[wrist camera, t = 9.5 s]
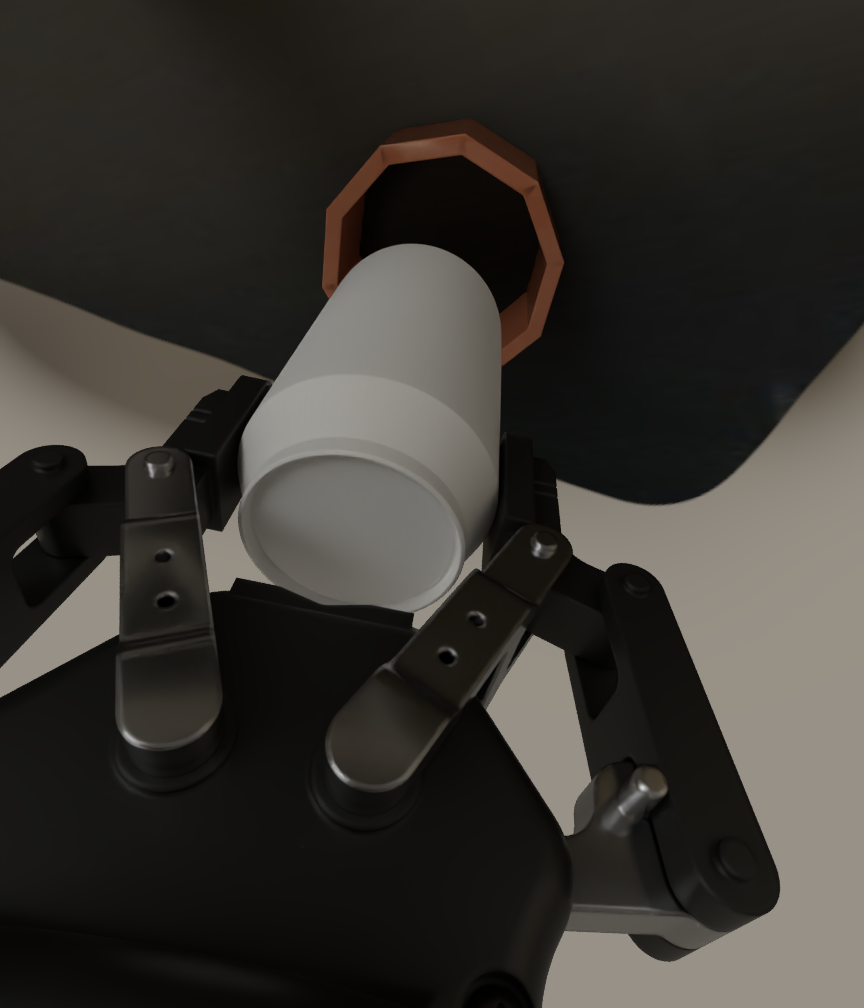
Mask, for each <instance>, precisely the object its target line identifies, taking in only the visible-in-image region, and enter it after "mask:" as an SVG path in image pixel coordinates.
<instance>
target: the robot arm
mask: <svg viewBox="0 0 864 1008" xmlns="http://www.w3.org/2000/svg"><path fill="white" fill-rule="evenodd" d="M271 387H272V384H271V382H270V381H267V380H262V379H258V378H253V377H248V376H244V375H242V376H240V378H239V379H238V380H237V381H236V382H235V384H234V385H233V386H232V388H231V389H230V390H229V391H225V390H220V389H218V390H217V391H214V392H213V393H211V394H209V395H207V396H205V397H203V398H202V399H201V400H200V402H199V403H198V404H197V405H196V406H195V408H194V411H191V412H190V414H189V415H188V416H187V418H186V419H185V420H184V421H183V422H182V423H181V424H180V426H179V427H178V428H177V429H176V430H175V432H174V433H173V434H172V435H171V436H170V438H169V439H168V440H167V441H166V443H165V444H164V445H163V446H158V447H151V448H146V449H143V450H141V451H139V452H136V453H135V454H133V455H132V456H131V457H130V458H129V459H128V460H127V462H126V465H121V466H88V465H87V461H86V458H85V456H84V454H83V453H82V452H81V451H79V450H78V449H76V448H73V447H70V446H64V445H48V446H42V447H37V448H34V449H31V450H29V451H26V452H24V453H23V454H21V455H20V456H18V457H17V458H15V459H14V460H12V461H11V462H10V463H8V464H7V465H5V466H4V467H3V468H1V469H0V668H1V667H2V666H3V664H4V663H6V661H7V660H8V659H9V658H10V657H11V656H12V655H13V654H14V653H15V652H16V651H17V650H18V649H19V648H20V647H21V646H22V645H23V644H24V643H25V641H27V640H28V639H29V637H30V636H31V635H32V634H33V633H34V632H35V631H36V630H37V629H38V628H39V627H40V626H41V625H42V624H43V623H44V622H45V621H46V620H47V619H48V618H49V617H50V615H51V614H52V613H53V612H54V611H55V610H56V609H57V608H58V607H59V606H60V605H61V604H62V603H63V602H64V601H65V600H66V599H67V598H68V597H69V596H70V595H71V594H72V592H73V591H74V590H75V589H76V588H77V587H78V586H79V585H80V584H81V583H82V582H83V581H84V580H85V579H86V578H87V577H88V576H89V575H90V573H92V572H93V570H94V569H95V568H96V567H97V566H98V565H99V564H100V563H101V562H102V561H103V560H104V559H105V557H106V556H112V555H114V556H115V555H120V628H119V635H117V636H115V637H113V638H111V639H109V640H107V641H105V642H104V643H102V644H100V645H98V646H96V647H95V648H92V649H91V650H89V651H87V652H85V653H83V654H81V655H79V656H77V657H76V658H74V659H72V660H70V661H68V662H66V663H65V664H62V665H61V666H59V667H57V668H55V669H53V670H51V671H49V672H47V673H46V674H44V675H42V676H40V677H38V678H36V679H34V680H33V681H31V682H29V683H27V684H25V685H23V686H21V687H19V688H17V689H16V690H14V691H12V692H10V693H8V694H6V695H4V696H3V697H1V698H0V1008H542V1001H543V994H544V989H545V984H546V979H547V975H548V972H549V968H550V965H551V962H552V959H553V956H554V953H555V951H556V948H557V946H558V944H559V942H560V939H561V937H562V935H563V933H564V931H577V932H601V933H623V934H628V935H629V936H630V937H631V939H632V940H633V942H634V943H635V944H636V945H637V946H638V947H639V948H640V949H641V950H642V951H643V952H645V953H646V954H648V955H649V956H651V957H653V958H655V959H657V960H661V961H668V962H671V961H676V960H678V959H680V958H682V957H684V956H686V955H688V954H690V953H692V952H693V951H695V950H697V949H699V948H701V947H703V946H705V945H707V944H709V943H711V942H713V941H715V940H716V939H718V938H720V937H722V936H724V935H726V934H728V933H730V932H732V931H734V930H736V929H737V928H739V927H741V926H743V925H745V924H747V923H749V922H751V921H753V920H755V919H757V918H759V917H761V916H762V915H764V914H766V913H768V912H770V911H771V910H772V909H773V908H774V907H775V905H776V903H777V901H778V898H779V893H780V881H779V876H778V872H777V868H776V865H775V863H774V860H773V858H772V855H771V853H770V850H769V848H768V846H767V843H766V841H765V838H764V836H763V833H762V831H761V828H760V826H759V823H758V821H757V818H756V816H755V814H754V811H753V808H752V806H751V804H750V801H749V799H748V796H747V794H746V791H745V789H744V786H743V784H742V781H741V779H740V776H739V774H738V771H737V769H736V767H735V764H734V762H733V759H732V757H731V754H730V752H729V749H728V747H727V744H726V742H725V740H724V737H723V735H722V732H721V730H720V727H719V725H718V722H717V720H716V717H715V715H714V712H713V710H712V707H711V705H710V703H709V700H708V698H707V695H706V693H705V690H704V688H703V685H702V683H701V680H700V678H699V675H698V673H697V670H696V668H695V665H694V663H693V660H692V658H691V656H690V653H689V651H688V648H687V646H686V643H685V641H684V639H683V636H682V634H681V631H680V628H679V626H678V624H677V621H676V619H675V616H674V614H673V611H672V609H671V606H670V604H669V601H668V599H667V596H666V594H665V591H664V589H663V587H662V585H661V584H660V583H659V581H658V580H657V579H656V578H655V577H654V576H653V575H652V574H651V573H649V572H648V571H646V570H644V569H642V568H640V567H638V566H635V565H632V564H627V563H617V564H614V565H612V566H610V567H609V568H608V569H607V571H606V572H604V571H602V570H599V569H597V568H595V567H593V566H591V565H588V564H586V563H585V562H583V561H581V560H580V559H578V558H577V557H575V556H574V555H573V549H572V546H571V544H570V542H569V541H568V539H567V538H566V537H565V536H564V535H563V534H562V533H561V525H560V516H559V505H558V499H557V488H556V486H557V485H556V475H555V472H554V470H553V469H552V467H551V466H550V464H549V463H548V461H547V460H546V459H541V458H536V457H533V447H532V438H530V437H526V436H521V435H516V434H512V433H507V432H505V433H504V435H503V437H502V440H501V443H500V450H499V493H498V505H497V511H496V515H495V518H494V521H493V524H492V526H491V529H490V531H489V532H488V534H487V536H486V538H485V539H484V540H483V557H482V571H480V570H479V569H474V570H473V571H472V572H471V573H470V574H469V575H468V576H467V577H466V578H465V579H464V580H463V581H462V583H461V584H460V585H459V586H458V587H457V588H456V589H455V590H454V592H453V593H452V594H451V595H450V596H449V597H448V598H447V599H446V600H445V601H444V603H443V604H442V605H441V606H440V607H439V608H438V609H437V610H436V611H435V613H434V614H433V615H432V616H431V617H430V618H429V619H428V620H427V621H426V623H425V624H424V625H423V626H422V627H421V628H420V629H419V630H418V629H416V628H413V627H412V622H413V617H414V613H409V612H404V611H399V610H395V609H390V608H385V607H380V606H375V605H323V604H319V603H317V602H315V601H312V600H310V599H308V598H305V597H303V596H301V595H299V594H296V593H294V592H292V591H290V590H287V589H285V588H283V587H281V586H276V585H270V584H265V583H261V582H256V581H251V580H246V579H241V578H236V580H235V582H234V584H233V586H232V588H231V590H230V591H218V592H211V593H209V585H208V578H207V570H206V562H205V555H204V547H203V540H202V535H203V534H204V532H205V530H206V529H212V530H216V531H221V532H222V531H223V529H224V527H225V526H226V524H227V522H228V520H229V519H230V517H231V515H232V513H233V512H234V510H235V508H236V506H237V505H238V503H239V501H240V499H241V498H242V493H241V488H240V484H239V478H238V470H237V457H238V449H239V444H240V440H241V437H242V435H243V432H244V430H245V428H246V426H247V424H248V422H249V420H250V419H251V417H252V416H253V414H254V413H255V411H256V409H257V408H258V406H259V405H260V403H261V402H262V400H263V399H264V397H265V396H266V394H267V393H268V391H269V390H270V388H271ZM35 533H36V535H37V538H36V539H35V540H34V541H33V542H31V543H30V544H29V545H28V546H27V547H26V548H25V549H23V550H22V551H21V552H20V553H19V554H18V555H17V556H16V557H14V558H13V556H14V554H15V553H16V551H17V550H18V548H19V547H20V546H21V545H23V544H24V543H25V542H26V541H27V540H28V539H29V538H31V537H32V536H33V535H34V534H35ZM533 635H535V636H537V637H539V638H541V639H544V640H546V641H547V642H549V643H551V644H553V645H555V646H557V647H559V648H561V649H563V650H564V652H565V658H566V662H567V667H568V672H569V676H570V681H571V686H572V691H573V696H574V700H575V705H576V710H577V714H578V719H579V724H580V728H581V733H582V738H583V743H584V747H585V752H586V756H587V761H588V766H589V771H590V776H591V783H589V785H588V786H587V787H586V788H585V789H584V791H583V792H582V793H581V794H580V796H579V797H578V799H577V801H576V804H575V807H574V833H573V835H569V836H564V834H563V832H562V830H561V827H560V825H559V824H558V822H557V820H556V818H555V817H554V815H553V814H552V812H551V811H550V809H549V807H548V806H547V804H546V803H545V801H544V800H543V798H542V797H541V795H540V793H539V792H538V791H537V789H536V787H535V786H534V784H533V783H532V781H531V779H530V778H529V776H528V775H527V773H526V772H525V770H524V769H523V767H522V765H521V764H520V762H519V761H518V759H517V758H516V756H515V755H514V753H513V751H512V750H511V748H510V747H509V745H508V744H507V742H506V741H505V739H504V738H503V736H502V735H501V733H500V731H499V730H498V728H497V727H496V725H495V723H494V722H493V720H492V719H491V717H490V716H489V714H488V713H487V711H486V708H487V707H488V705H489V704H490V702H491V700H492V698H493V697H494V695H495V693H496V691H497V689H498V688H499V686H500V684H501V683H502V681H503V679H504V678H505V676H506V675H507V673H508V672H509V670H510V669H511V667H512V666H513V664H514V663H515V661H516V660H517V658H518V657H519V655H520V654H521V652H522V651H523V649H524V648H525V646H526V645H527V643H528V641H529V640H530V639H531V637H532V636H533Z"/></svg>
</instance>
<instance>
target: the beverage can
mask: <svg viewBox="0 0 864 1008" xmlns="http://www.w3.org/2000/svg"><path fill="white" fill-rule="evenodd" d="M500 402H501V323H500V317H499V312H498V309H497V306H496V303H495V300H494V298H493V296H492V293H491V291H490V290H489V288H488V286H487V285H486V283H485V282H484V280H483V279H482V278H481V276H480V275H479V274H478V273H477V272H476V271H475V270H474V269H473V268H472V267H471V266H470V265H468V264H467V263H466V262H465V261H463V260H462V259H460V258H459V257H457V256H455V255H454V254H452V253H450V252H448V251H445V250H443V249H440V248H437V247H433V246H429V245H423V244H401V245H395V246H390V247H387V248H384V249H381V250H379V251H377V252H374V253H373V254H371V255H369V256H368V257H366V258H364V259H363V260H362V261H360V262H359V263H358V264H357V265H356V266H354V267H353V268H352V269H351V271H350V272H349V273H348V274H347V275H346V277H345V278H344V279H343V280H342V282H341V283H340V285H339V286H338V287H337V289H336V290H335V292H334V293H333V295H332V296H331V298H330V299H329V301H328V302H327V304H326V305H325V307H324V308H323V310H322V311H321V313H320V314H319V316H318V317H317V319H316V320H315V322H314V323H313V325H312V326H311V328H310V329H309V331H308V332H307V334H306V335H305V337H304V338H303V340H302V341H301V343H300V344H299V346H298V347H297V349H296V350H295V352H294V353H293V355H292V356H291V358H290V359H289V361H288V362H287V364H286V366H285V367H284V369H283V370H282V372H281V373H280V375H279V376H278V378H277V379H276V381H275V382H274V384H273V385H272V387H271V388H270V390H269V391H268V393H267V394H266V396H265V397H264V399H263V400H262V402H261V403H260V405H259V406H258V408H257V409H256V411H255V413H254V414H253V416H252V417H251V419H250V420H249V422H248V424H247V426H246V428H245V430H244V432H243V435H242V437H241V440H240V444H239V449H238V457H237V470H238V478H239V484H240V488H241V493H242V499H241V502H240V506H239V512H238V523H239V531H240V536H241V539H242V542H243V544H244V547H245V549H246V551H247V553H248V554H249V556H250V558H251V559H252V561H253V562H254V564H255V565H256V566H257V568H258V569H259V570H260V571H261V572H262V573H263V574H264V575H265V576H266V577H267V578H268V579H269V580H270V581H271V582H272V583H273V584H275V585H276V586H281V587H283V588H285V589H287V590H290V591H292V592H294V593H296V594H299V595H301V596H303V597H305V598H308V599H310V600H312V601H315V602H317V603H319V604H323V605H375V606H380V607H385V608H390V609H395V610H399V611H404V612H409V613H413V612H416V611H418V610H421V609H423V608H425V607H427V606H429V605H431V604H433V603H434V602H435V601H437V600H439V599H440V598H441V597H443V596H444V595H445V594H446V593H447V592H448V591H449V590H450V589H451V587H452V586H453V585H454V584H455V582H456V581H457V579H458V577H459V575H460V573H461V571H462V568H463V565H464V562H465V561H466V560H467V559H468V557H469V556H471V554H472V553H473V552H474V551H475V550H476V549H477V548H478V547H479V546H480V544H481V543H482V542H483V540H484V539H485V538H486V536H487V534H488V532H489V531H490V529H491V526H492V524H493V521H494V518H495V515H496V511H497V505H498V493H499V450H500Z"/></svg>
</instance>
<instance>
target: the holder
mask: <svg viewBox="0 0 864 1008" xmlns="http://www.w3.org/2000/svg"><path fill="white" fill-rule="evenodd" d="M458 155H462V156H464V157H465V158H467V159H468V160H470V161H471V162H473V163H474V164H476V165H477V166H479V167H480V168H482V169H483V170H485V171H486V172H488V173H490V174H491V175H493V176H494V177H496V178H497V179H499V180H500V181H502V182H503V183H505V184H506V185H508V186H509V187H511V188H512V189H514V190H515V191H517V192H519V193H520V194H522V195H523V196H524V199H525V202H526V205H527V207H528V210H529V213H530V216H531V219H532V222H533V225H534V228H535V231H536V234H537V237H538V240H539V243H540V246H539V250H538V253H537V257H536V260H535V264H534V267H533V271H532V274H531V277H530V281H529V284H528V288H527V291H526V292H525V293H524V294H523V295H522V296H520V297H519V298H518V299H517V300H516V301H514V302H513V303H512V304H511V305H510V306H508V307H507V308H506V309H505V310H504V311H502V312H501V313H500V314H499V317H500V323H501V367H502V366H503V365H504V364H506V363H507V362H508V361H509V360H511V359H512V358H513V357H515V356H516V355H517V354H518V353H520V352H521V351H522V350H524V349H525V348H526V347H528V346H529V345H530V344H531V343H533V342H534V341H535V340H537V339H538V338H539V337H541V334H542V331H543V328H544V325H545V321H546V318H547V315H548V312H549V309H550V306H551V303H552V300H553V297H554V293H555V290H556V287H557V284H558V281H559V278H560V275H561V272H562V268H563V265H564V258H563V253H562V249H561V244H560V239H559V234H558V230H557V227H556V224H555V221H554V217H553V214H552V211H551V208H550V205H549V202H548V199H547V196H546V192H545V189H544V186H543V183H542V180H541V177H540V174H539V171H538V167H537V164H536V161H535V160H534V159H532V158H531V157H529V156H528V155H526V154H525V153H523V152H522V151H520V150H519V149H517V148H516V147H514V146H513V145H511V144H510V143H508V142H507V141H505V140H504V139H502V138H501V137H499V136H498V135H496V134H495V133H494V132H492V131H491V130H489V129H488V128H486V127H485V126H483V125H482V124H480V123H479V122H477V121H476V120H474V119H473V118H472V119H465V120H458V121H451V122H445V123H438V124H431V125H424V126H418V127H411V128H404V129H399V130H398V131H397V132H395V133H394V134H393V135H392V136H391V137H390V138H388V139H387V140H386V141H385V142H384V143H382V144H381V145H380V146H379V147H378V149H377V150H376V151H375V152H374V153H373V155H372V156H371V157H370V158H369V159H368V160H367V162H366V163H365V164H364V165H363V166H362V168H361V169H360V170H359V171H358V172H357V173H356V175H355V176H354V177H353V178H352V179H351V181H350V182H349V183H348V184H347V185H346V186H345V188H344V189H343V190H342V191H341V192H340V194H339V195H338V196H337V197H336V198H335V199H334V201H333V202H332V203H331V204H330V205H329V206H328V207H327V209H326V228H325V247H324V265H323V283H322V288H323V289H324V291H325V293H326V294H327V296H328V298H329V299H330V298H331V296H332V295H333V293H334V292H335V290H336V289H337V287H338V286H339V285H340V283H341V282H342V280H343V279H344V278H345V277H346V275H347V274H348V273H349V272H350V271H351V269H352V268H353V267H354V266H356V265H357V264H358V263H359V262H360V261H362V258H361V256H360V246H361V235H362V225H363V214H364V203H365V193H366V192H367V191H368V190H369V189H370V187H371V186H372V185H373V184H374V183H375V182H376V181H377V179H378V178H379V177H380V176H381V175H382V174H383V173H384V172H385V170H386V169H387V168H388V167H389V166H390V165H392V164H400V163H407V162H414V161H422V160H429V159H436V158H443V157H451V156H458Z"/></svg>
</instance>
